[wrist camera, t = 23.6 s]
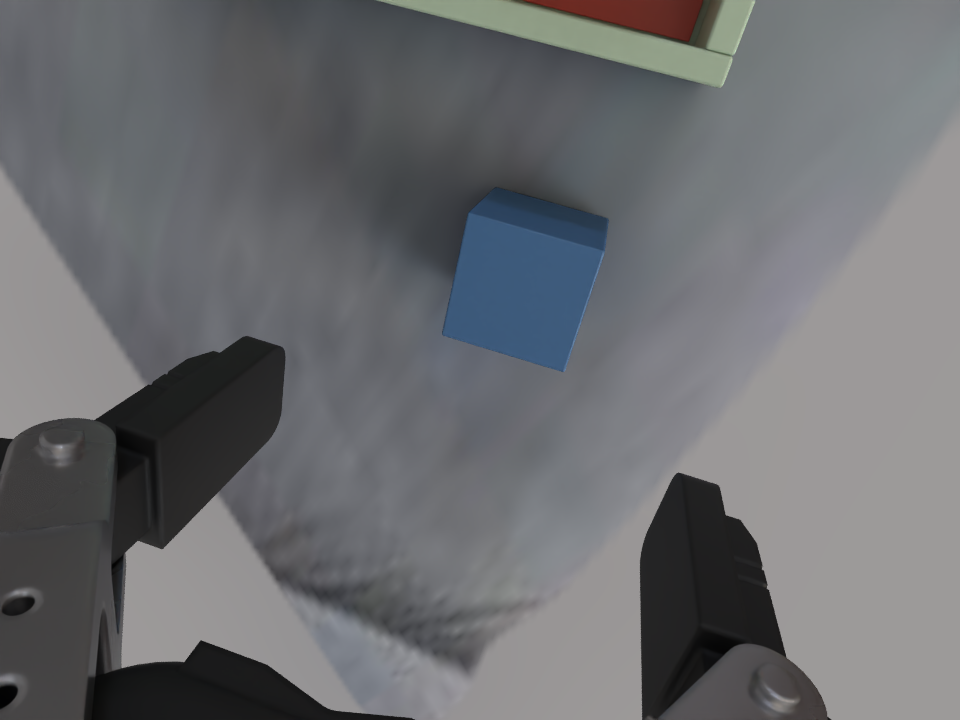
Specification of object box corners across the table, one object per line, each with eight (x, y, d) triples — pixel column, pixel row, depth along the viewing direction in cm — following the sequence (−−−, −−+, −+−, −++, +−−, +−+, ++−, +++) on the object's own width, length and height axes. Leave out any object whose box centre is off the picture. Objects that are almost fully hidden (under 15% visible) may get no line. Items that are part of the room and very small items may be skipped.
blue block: (470, 292, 25) (441, 335, 21) (494, 186, 23) (467, 212, 19) (574, 324, 24) (564, 373, 21) (609, 218, 22) (605, 251, 18)
